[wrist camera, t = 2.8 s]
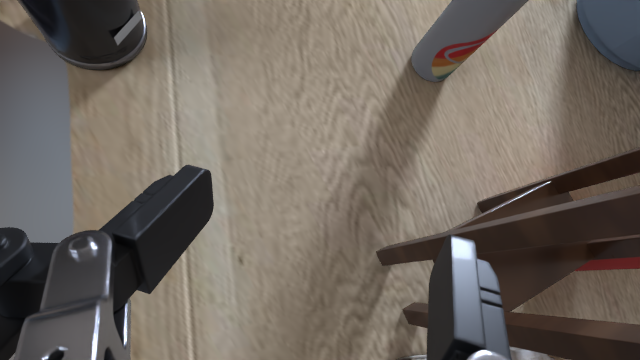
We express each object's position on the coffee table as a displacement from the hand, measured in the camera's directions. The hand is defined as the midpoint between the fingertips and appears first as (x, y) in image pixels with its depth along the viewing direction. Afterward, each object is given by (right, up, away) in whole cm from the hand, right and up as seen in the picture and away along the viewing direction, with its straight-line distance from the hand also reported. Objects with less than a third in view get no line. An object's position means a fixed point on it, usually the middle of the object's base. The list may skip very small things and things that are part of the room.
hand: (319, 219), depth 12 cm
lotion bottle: (+14, +16, +35) cm, 42 cm away
